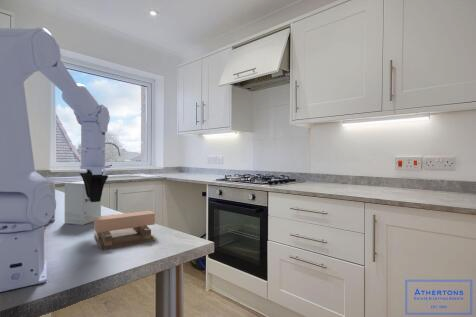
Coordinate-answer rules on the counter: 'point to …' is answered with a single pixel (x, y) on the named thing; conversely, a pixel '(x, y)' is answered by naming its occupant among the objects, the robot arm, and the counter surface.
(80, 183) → the supplement box
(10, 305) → the counter surface
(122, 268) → the counter surface
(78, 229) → the counter surface
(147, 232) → the brown wooden stand
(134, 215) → the clay strip
